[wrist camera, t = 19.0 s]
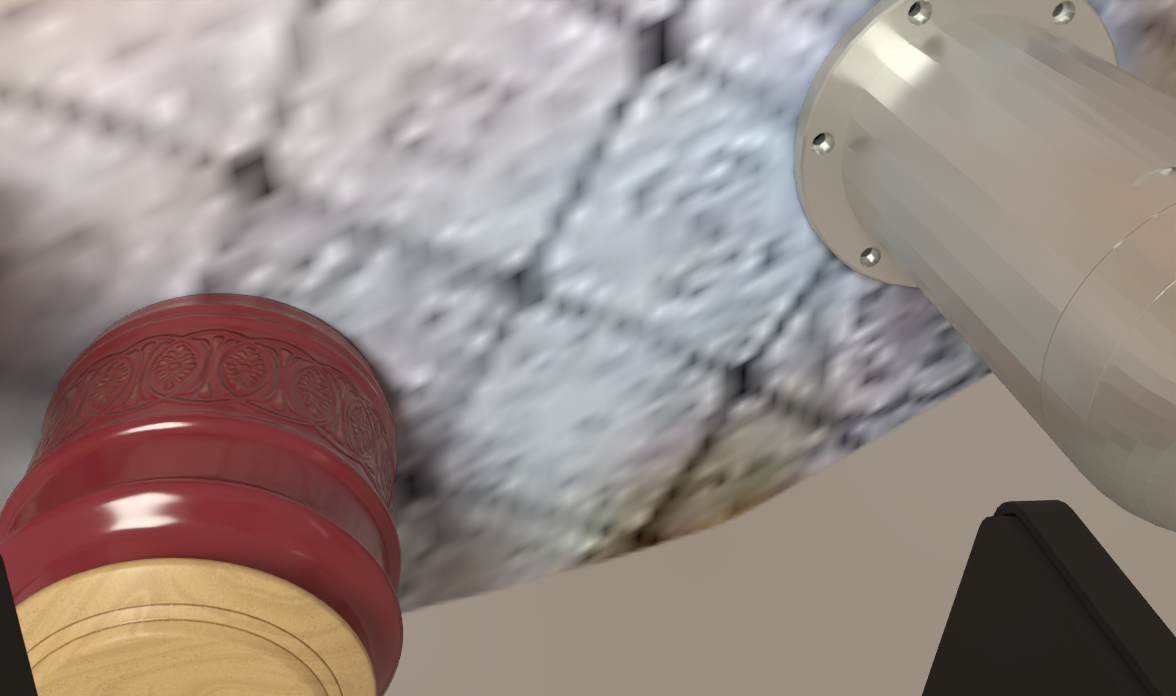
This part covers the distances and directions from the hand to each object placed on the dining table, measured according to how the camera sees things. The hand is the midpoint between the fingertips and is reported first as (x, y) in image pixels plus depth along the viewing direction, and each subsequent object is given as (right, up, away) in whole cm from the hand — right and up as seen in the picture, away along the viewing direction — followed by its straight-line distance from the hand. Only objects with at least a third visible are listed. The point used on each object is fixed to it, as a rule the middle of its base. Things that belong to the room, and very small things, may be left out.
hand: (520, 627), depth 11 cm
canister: (-14, 0, +33) cm, 36 cm away
